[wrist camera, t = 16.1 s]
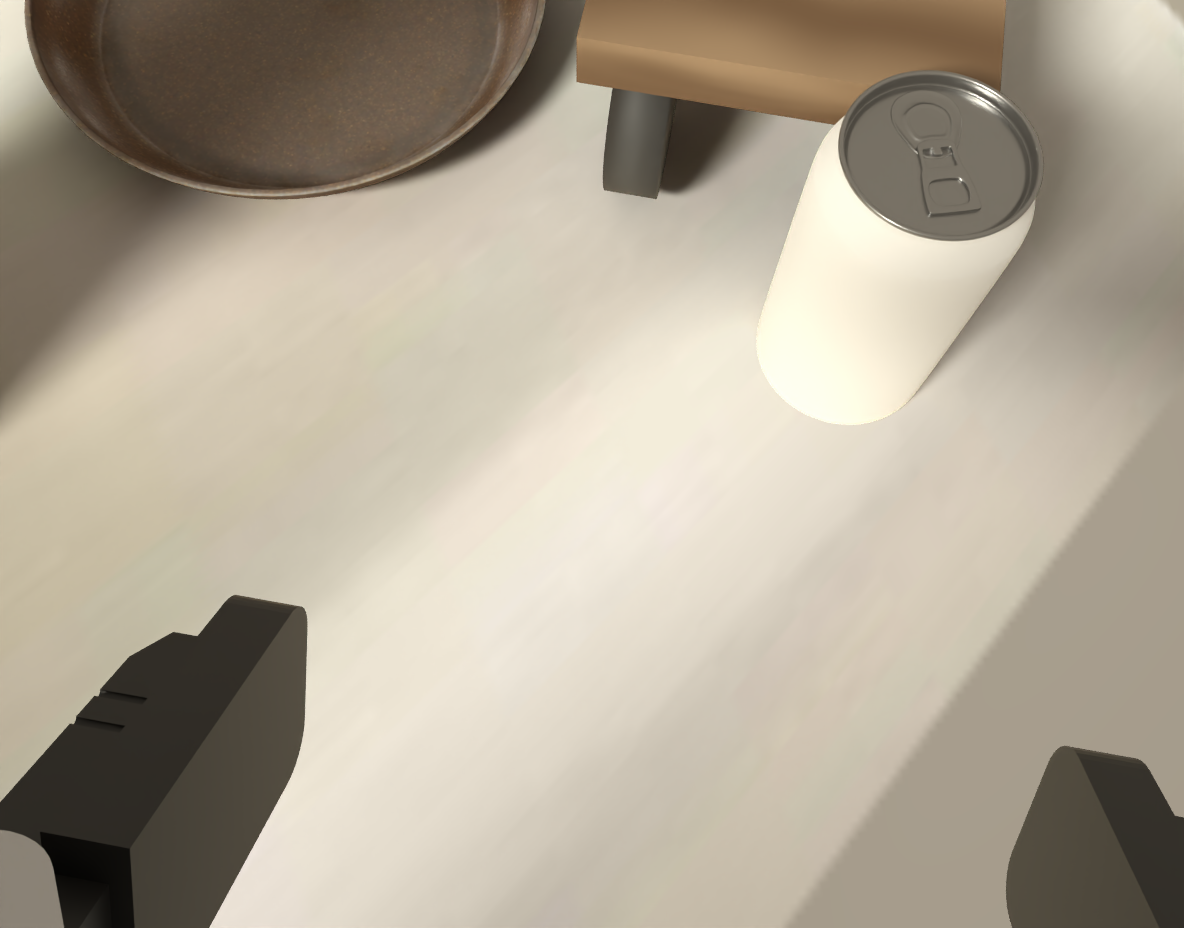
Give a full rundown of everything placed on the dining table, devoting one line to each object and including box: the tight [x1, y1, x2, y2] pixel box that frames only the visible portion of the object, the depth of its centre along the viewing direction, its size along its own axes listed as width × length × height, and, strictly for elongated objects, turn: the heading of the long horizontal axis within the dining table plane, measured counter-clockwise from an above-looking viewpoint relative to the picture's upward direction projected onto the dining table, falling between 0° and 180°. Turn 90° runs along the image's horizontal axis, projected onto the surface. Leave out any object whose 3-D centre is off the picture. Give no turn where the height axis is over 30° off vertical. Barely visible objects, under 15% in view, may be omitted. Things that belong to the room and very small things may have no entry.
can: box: [756, 70, 1044, 425], centre depth 35 cm, size 6×6×12 cm
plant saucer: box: [24, 0, 546, 199], centre depth 44 cm, size 21×21×3 cm
